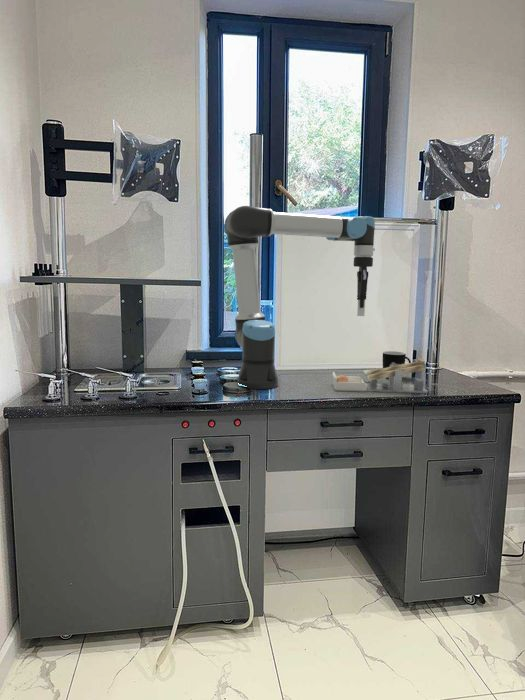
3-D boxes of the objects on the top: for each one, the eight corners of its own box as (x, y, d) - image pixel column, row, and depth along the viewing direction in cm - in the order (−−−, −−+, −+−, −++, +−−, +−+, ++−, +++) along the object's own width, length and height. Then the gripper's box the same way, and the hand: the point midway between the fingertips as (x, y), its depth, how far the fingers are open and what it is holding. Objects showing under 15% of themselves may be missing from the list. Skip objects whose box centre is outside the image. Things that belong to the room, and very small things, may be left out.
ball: (348, 386, 185) (337, 387, 185) (347, 384, 188) (336, 385, 189) (348, 375, 184) (337, 376, 184) (346, 373, 188) (336, 374, 188)
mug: (387, 380, 201) (388, 354, 199) (377, 375, 210) (379, 351, 208) (415, 379, 203) (416, 354, 202) (404, 374, 212) (406, 350, 210)
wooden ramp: (370, 383, 182) (368, 372, 182) (363, 374, 198) (362, 364, 197) (426, 372, 181) (424, 361, 180) (415, 364, 196) (413, 354, 196)
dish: (334, 390, 181) (335, 378, 181) (332, 383, 192) (332, 372, 192) (366, 391, 181) (367, 378, 180) (362, 384, 192) (362, 372, 191)
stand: (368, 391, 181) (369, 369, 180) (363, 384, 192) (364, 364, 191) (427, 393, 180) (429, 371, 179) (419, 386, 191) (421, 365, 190)
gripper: (375, 256, 196) (372, 317, 200) (370, 257, 209) (367, 314, 213) (356, 256, 197) (353, 317, 200) (351, 257, 209) (349, 314, 213)
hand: (360, 315), depth 206 cm, fingers closed
